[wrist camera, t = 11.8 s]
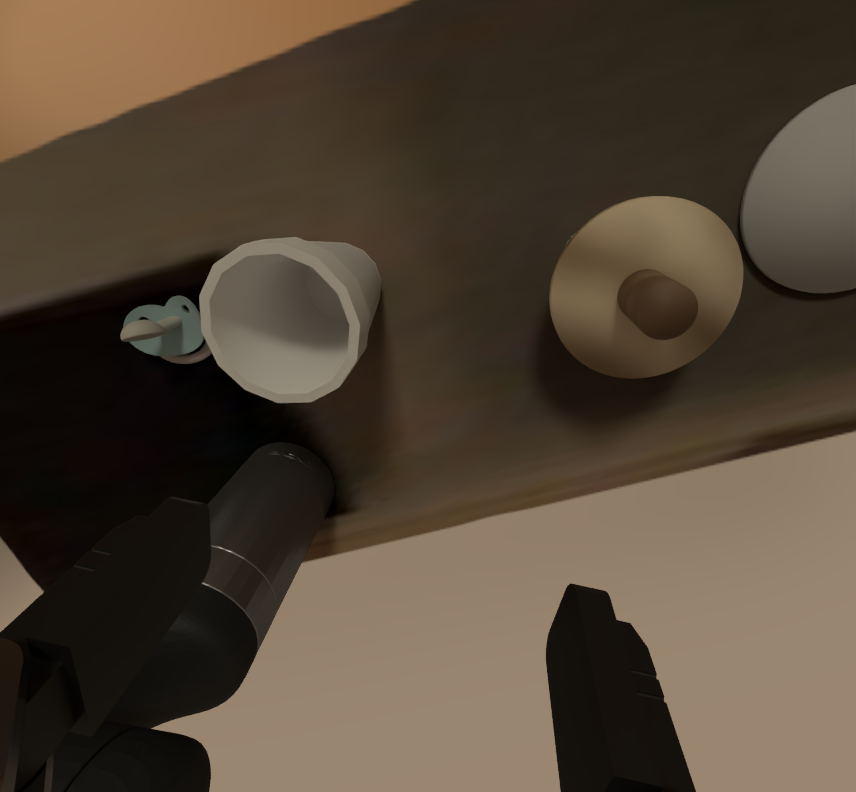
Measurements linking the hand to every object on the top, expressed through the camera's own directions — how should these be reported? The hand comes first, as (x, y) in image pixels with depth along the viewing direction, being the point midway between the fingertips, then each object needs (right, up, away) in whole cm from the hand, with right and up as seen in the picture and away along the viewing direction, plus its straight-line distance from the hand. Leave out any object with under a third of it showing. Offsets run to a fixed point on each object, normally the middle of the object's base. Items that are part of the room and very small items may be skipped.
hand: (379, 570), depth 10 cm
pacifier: (-21, +10, +32) cm, 39 cm away
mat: (+29, +17, +21) cm, 40 cm away
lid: (+15, +11, +21) cm, 28 cm away
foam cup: (-6, +13, +28) cm, 32 cm away
